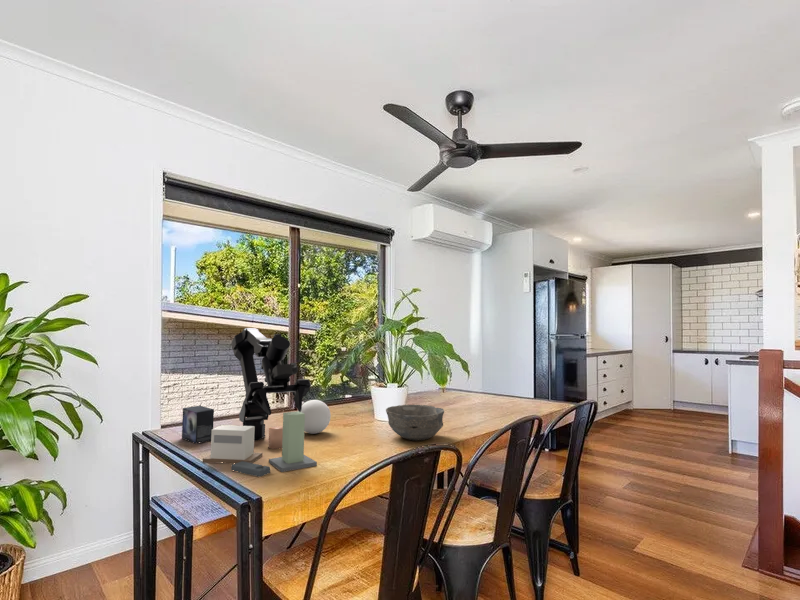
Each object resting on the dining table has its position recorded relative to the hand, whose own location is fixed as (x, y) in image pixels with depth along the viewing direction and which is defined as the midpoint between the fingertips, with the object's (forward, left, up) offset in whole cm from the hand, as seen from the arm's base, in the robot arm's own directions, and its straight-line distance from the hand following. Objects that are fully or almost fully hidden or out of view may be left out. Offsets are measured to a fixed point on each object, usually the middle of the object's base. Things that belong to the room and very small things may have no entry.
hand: (285, 412), depth 129 cm
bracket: (-5, -12, -14) cm, 19 cm away
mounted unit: (-14, -3, -13) cm, 20 cm away
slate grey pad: (+4, -5, -13) cm, 15 cm away
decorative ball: (-1, +32, -13) cm, 35 cm away
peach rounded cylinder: (-7, +12, -13) cm, 20 cm away
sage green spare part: (+4, -5, -12) cm, 14 cm away
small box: (-37, +17, -13) cm, 43 cm away
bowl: (+36, +31, -13) cm, 49 cm away
